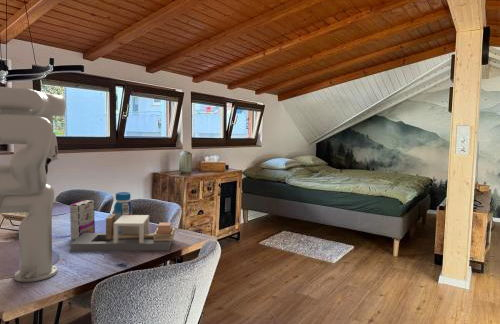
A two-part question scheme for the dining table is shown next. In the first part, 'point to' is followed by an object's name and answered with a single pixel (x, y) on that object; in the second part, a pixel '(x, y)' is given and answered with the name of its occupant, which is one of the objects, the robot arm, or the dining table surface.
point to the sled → (157, 237)
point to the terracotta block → (164, 228)
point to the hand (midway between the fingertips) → (43, 174)
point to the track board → (130, 226)
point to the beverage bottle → (122, 206)
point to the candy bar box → (82, 218)
